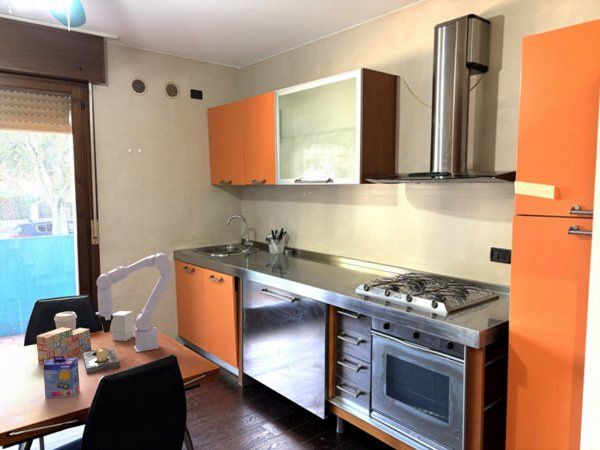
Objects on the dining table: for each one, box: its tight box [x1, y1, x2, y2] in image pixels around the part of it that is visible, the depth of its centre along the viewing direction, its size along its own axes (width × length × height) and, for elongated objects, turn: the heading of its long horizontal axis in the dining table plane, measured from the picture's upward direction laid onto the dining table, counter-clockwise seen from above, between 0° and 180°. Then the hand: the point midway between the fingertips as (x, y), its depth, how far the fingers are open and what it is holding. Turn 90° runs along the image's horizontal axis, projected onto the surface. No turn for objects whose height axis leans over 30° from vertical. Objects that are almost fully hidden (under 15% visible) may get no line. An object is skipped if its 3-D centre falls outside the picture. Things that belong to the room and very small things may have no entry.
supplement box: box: [111, 310, 135, 342], centre depth 213 cm, size 7×7×13 cm
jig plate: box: [82, 347, 121, 375], centre depth 183 cm, size 12×19×2 cm, turn 30°
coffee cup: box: [53, 311, 78, 330], centre depth 205 cm, size 10×10×15 cm
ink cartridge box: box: [42, 356, 81, 399], centre depth 155 cm, size 10×6×14 cm, turn 95°
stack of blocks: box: [36, 327, 92, 366], centre depth 191 cm, size 21×6×12 cm, turn 157°
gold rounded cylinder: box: [95, 347, 108, 364], centre depth 179 cm, size 4×4×7 cm
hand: (106, 332), depth 194 cm, fingers closed
